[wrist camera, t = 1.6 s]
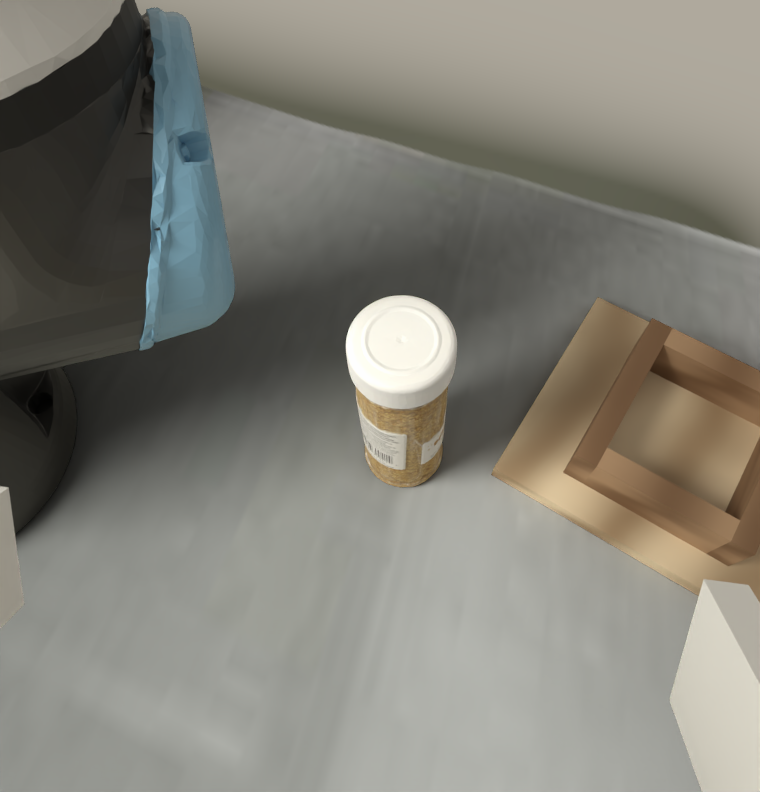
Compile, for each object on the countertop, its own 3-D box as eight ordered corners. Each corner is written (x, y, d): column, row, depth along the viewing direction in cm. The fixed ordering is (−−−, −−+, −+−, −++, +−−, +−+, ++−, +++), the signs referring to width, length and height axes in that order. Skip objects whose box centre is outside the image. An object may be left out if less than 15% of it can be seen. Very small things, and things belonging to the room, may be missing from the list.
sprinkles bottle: (456, 469, 39) (478, 363, 27) (383, 502, 38) (372, 409, 26) (420, 402, 41) (426, 274, 28) (351, 433, 40) (326, 316, 28)
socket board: (491, 474, 39) (500, 449, 35) (593, 307, 43) (611, 268, 39) (767, 636, 35) (811, 628, 31) (849, 434, 39) (897, 405, 35)
